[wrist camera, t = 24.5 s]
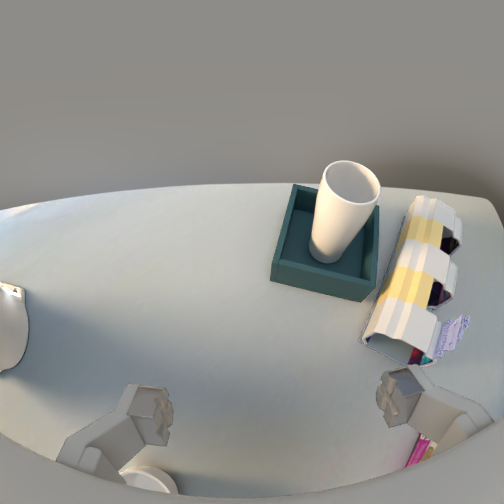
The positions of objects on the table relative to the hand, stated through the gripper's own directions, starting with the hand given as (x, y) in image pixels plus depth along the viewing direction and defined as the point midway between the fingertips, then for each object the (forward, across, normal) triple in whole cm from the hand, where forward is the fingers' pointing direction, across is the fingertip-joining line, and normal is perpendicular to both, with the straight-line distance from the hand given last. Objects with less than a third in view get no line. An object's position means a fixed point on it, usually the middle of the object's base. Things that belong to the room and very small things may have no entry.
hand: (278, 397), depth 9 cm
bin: (+32, -11, +4) cm, 34 cm away
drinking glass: (+32, -11, +4) cm, 34 cm away
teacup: (+8, +16, +29) cm, 34 cm away
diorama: (+27, -25, +9) cm, 38 cm away
